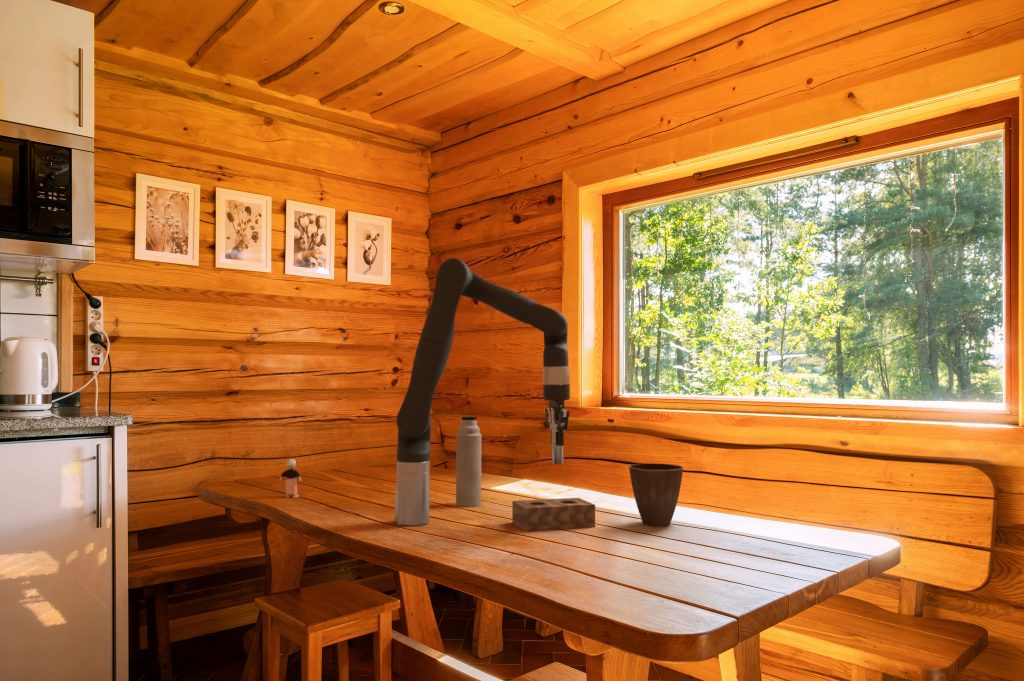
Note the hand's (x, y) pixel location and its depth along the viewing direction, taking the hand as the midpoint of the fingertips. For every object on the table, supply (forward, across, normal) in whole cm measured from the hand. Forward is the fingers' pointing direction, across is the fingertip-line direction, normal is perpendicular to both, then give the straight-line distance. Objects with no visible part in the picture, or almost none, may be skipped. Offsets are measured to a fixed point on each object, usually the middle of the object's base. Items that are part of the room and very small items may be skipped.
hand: (557, 444), depth 209 cm
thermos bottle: (+22, -38, -17) cm, 47 cm away
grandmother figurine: (+20, -68, -71) cm, 101 cm away
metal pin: (+5, 0, 0) cm, 5 cm away
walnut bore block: (+22, -1, -2) cm, 22 cm away
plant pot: (+23, +6, +27) cm, 36 cm away
